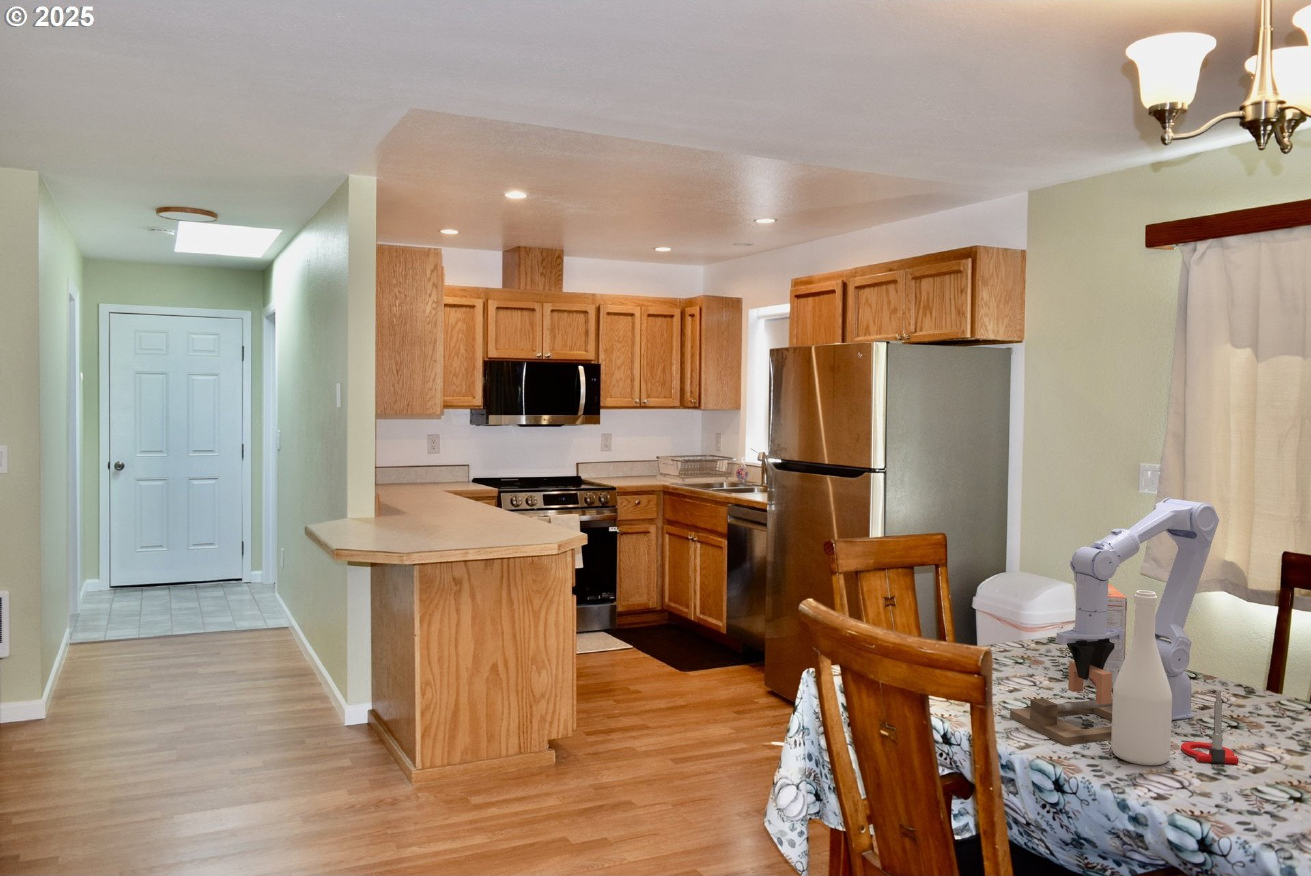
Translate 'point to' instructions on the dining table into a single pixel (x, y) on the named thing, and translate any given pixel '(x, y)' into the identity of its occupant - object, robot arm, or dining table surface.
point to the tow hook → (1215, 749)
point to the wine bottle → (1142, 694)
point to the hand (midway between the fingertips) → (1089, 677)
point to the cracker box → (1116, 620)
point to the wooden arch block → (1097, 674)
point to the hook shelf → (1065, 733)
